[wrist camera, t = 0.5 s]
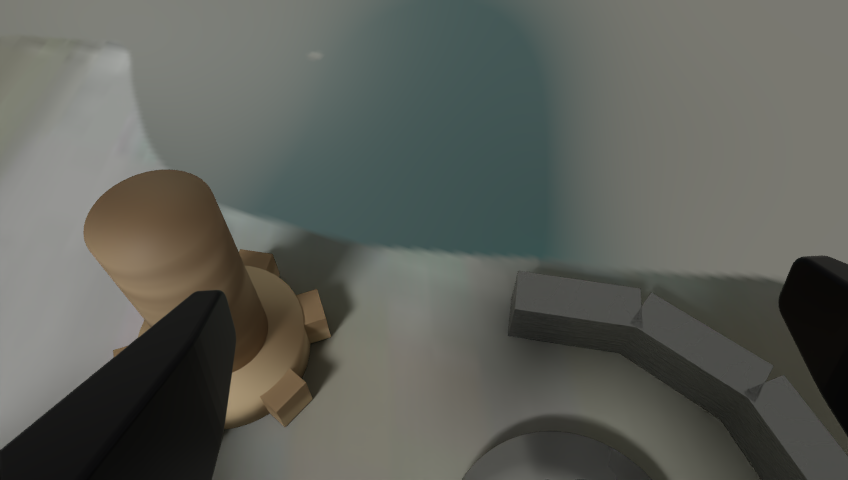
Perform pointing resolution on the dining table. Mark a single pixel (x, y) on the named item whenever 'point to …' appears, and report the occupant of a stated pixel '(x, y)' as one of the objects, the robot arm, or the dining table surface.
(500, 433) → the dining table surface
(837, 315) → the robot arm
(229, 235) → the gear
